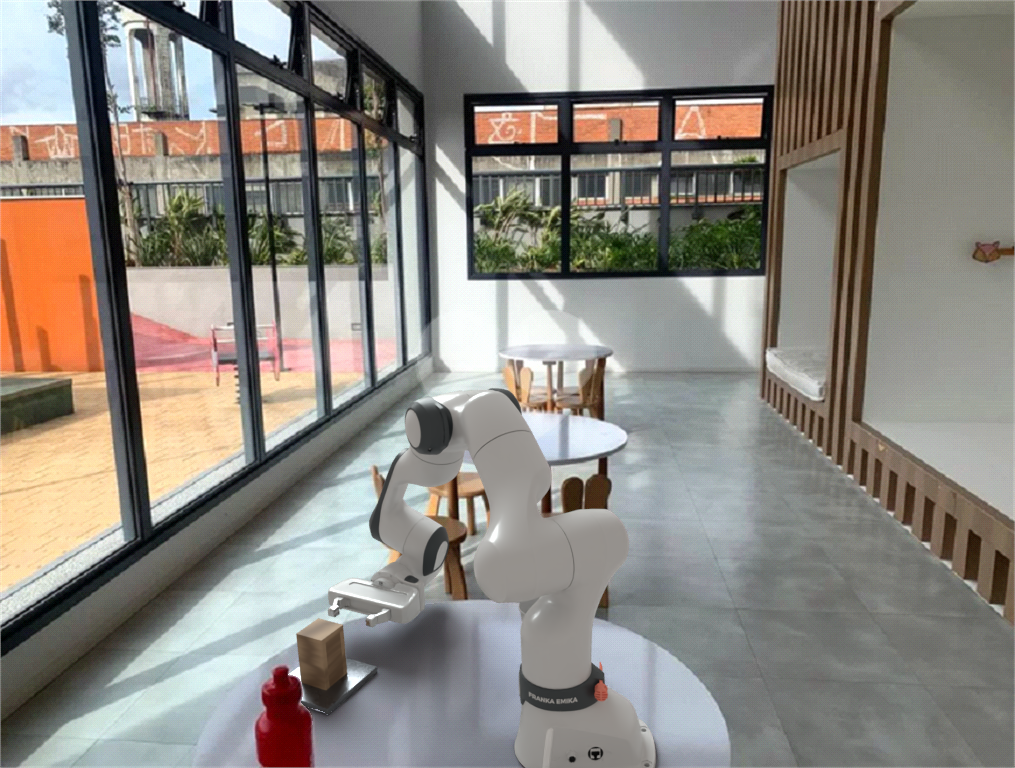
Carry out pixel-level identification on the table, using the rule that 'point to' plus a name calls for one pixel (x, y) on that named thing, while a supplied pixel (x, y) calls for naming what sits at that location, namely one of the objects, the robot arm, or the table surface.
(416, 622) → the table surface
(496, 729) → the table surface
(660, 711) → the table surface
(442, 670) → the table surface
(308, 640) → the brown wooden block
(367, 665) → the metal square peg base
